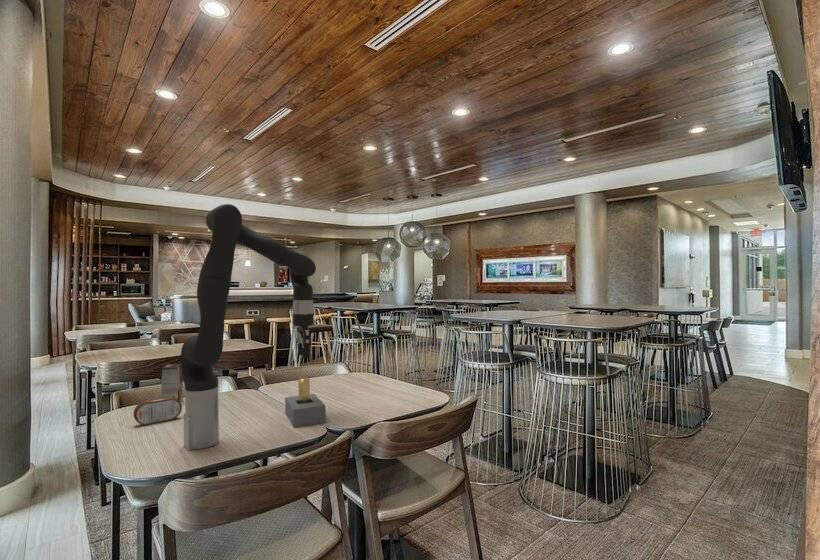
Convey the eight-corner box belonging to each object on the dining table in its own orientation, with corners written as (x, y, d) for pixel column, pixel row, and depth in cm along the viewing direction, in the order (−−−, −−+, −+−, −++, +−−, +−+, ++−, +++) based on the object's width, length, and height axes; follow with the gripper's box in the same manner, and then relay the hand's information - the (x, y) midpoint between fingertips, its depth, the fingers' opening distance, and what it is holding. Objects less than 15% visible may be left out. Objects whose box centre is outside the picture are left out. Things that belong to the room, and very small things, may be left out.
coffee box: (166, 401, 180) (166, 364, 180) (183, 400, 181) (182, 362, 182) (160, 407, 171) (160, 367, 171) (178, 405, 173) (178, 366, 173)
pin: (301, 414, 151) (301, 380, 151) (297, 412, 154) (296, 379, 154) (312, 412, 153) (311, 379, 154) (307, 409, 156) (306, 377, 157)
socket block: (325, 422, 148) (325, 405, 148) (293, 427, 143) (293, 409, 143) (314, 409, 164) (314, 393, 164) (285, 413, 159) (285, 397, 159)
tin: (181, 416, 158) (180, 394, 158) (182, 418, 156) (182, 396, 156) (133, 425, 149) (133, 402, 149) (134, 428, 146) (134, 403, 146)
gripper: (289, 312, 159) (290, 355, 159) (296, 313, 146) (296, 360, 146) (309, 311, 162) (310, 353, 162) (317, 313, 149) (318, 358, 149)
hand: (303, 356), depth 154 cm, fingers open, 8 cm apart
